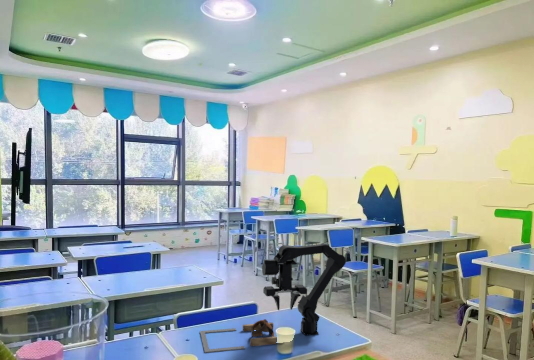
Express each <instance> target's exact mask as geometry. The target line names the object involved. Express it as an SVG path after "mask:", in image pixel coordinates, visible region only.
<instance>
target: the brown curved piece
mask: <svg viewBox="0 0 534 360" xmlns="http://www.w3.org/2000/svg"><path fill="white" fill-rule="evenodd" d="M269 323H270V322H269V321H268V320H267V319H261V320H257V321H256V322H254V323H252V324H253V326H252V328H253V329H251V331H250V332H251V337H252V338H259V337H263V333H268V335H269V336H271V337H275V336H276V335H275V332H274V328H273V329H272V327H271V325H270V324H269ZM259 324H260V326H261V327H262V328H260V329H259V330H256V331H254V328H255V327H256V326H258V325H259Z"/></svg>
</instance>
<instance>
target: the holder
mask: <svg viewBox="0 0 534 360" xmlns="http://www.w3.org/2000/svg"><path fill="white" fill-rule="evenodd" d="M268 323H269V324H270V325H271V327H272V329H273V330H274V323H273V322H268ZM253 324H254V323H248V324H242V332H243V331H244V332H252V331H251V329H253V328H252V326H253ZM260 328H262V327H261V326H260V324H259V325H258V326H256V327H255V328H254V330H259V329H260ZM274 336H275V337H272V336H267V337H266V336H265V337H252V338H250V340H249V342H250V347H257V346H268V345H277V344H276V342H277V337H276V336H277V335H274Z"/></svg>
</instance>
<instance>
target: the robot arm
mask: <svg viewBox="0 0 534 360" xmlns="http://www.w3.org/2000/svg"><path fill="white" fill-rule="evenodd" d="M319 254H323V255H324V257H326V258H327V260H326V264H325V268H324V270H323V272H322V273H321V275H320V276H319V278H318V279H317V281H316V282H315V284H314V285H313V287H312V289H311V290H310V292H309V294H308V289H307V287H306V286H305V285H304V284H294V287H293V280H294V279H293V266H295V265H297V264H298V262H296V261H295V259H297V258H299V257H301V256H303V257H304V256H308V255H311V256H312V255H319ZM346 264H347V260H346V257H345V256H344V255H343V254H341V253H338V252H337V251H335V250H334V249H333V248H332V247H331V246H330V245H329V244H327V243H320V244H319V243H317V244H309V245H301V246H300V245H299V246H297V245H296V246H295V245H287V244H286V245H285V244H282V245H280V247H279V248H278V251H277V253H276V255H274V257H273V259H263V263H262V266H261V271H262V272H261V273H262V276H272V277H271V285H270V286H264V287H263V294H264V296H266V297H271V298H273V300H274V302H275V303H274V304H275V305H276V310H277V311H280V302H281V301H280V300H281V299H280V298H281V297H280V295H279V294H281V293H283V294H284V293H290V304H289V307H290V308H289V309H290V310H293V308H294V306H295V304H296V302H297V300H298V299H299V297H300V300H299V301H298V302H297V303H298V304H297V311H298V312H299V313H300V314H301V316H302V317H301V321H300V332H301V333H302V334H304V335H305V336H315V335H316V336H317V335H319V334H320V333H319V332H318V322H319V320H320V316H319V315H318V313H316V310H317V309H318V308H317V307H318V302H319V300H320V298H321V296H322V294H323V293H324V291H325V290H326V288H327V287H328V285H329V284H330V282H331V280H332V279H333V277H334V276H335V274H336V273H338V272H340V271H341V270H342V269H343V268H344V266H345V265H346ZM278 274H279V275H278ZM277 275H278V277H277ZM272 285H275V288H274V286H272ZM307 294H308V295H307ZM305 295H306V296H305Z"/></svg>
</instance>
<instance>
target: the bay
mask: <svg viewBox="0 0 534 360" xmlns="http://www.w3.org/2000/svg"><path fill="white" fill-rule="evenodd" d="M227 331H228V332H235V331H236V332H237V329H236V328H221V329H208V330H200V331H199V334H200V339H201V342H202V346H203V351H204V353H205V354H207V353H208V354H209V353H219V352H228V351H240V350H245V349H246V347H245V346H244V345H242V346H241V345H239V346H230V347H221V348H220V347H218V348H217V347H216V348H210V346H209V343H208V339H207V335H206V334H211V333H212V334H217V333H225V332H226V333H227Z"/></svg>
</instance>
